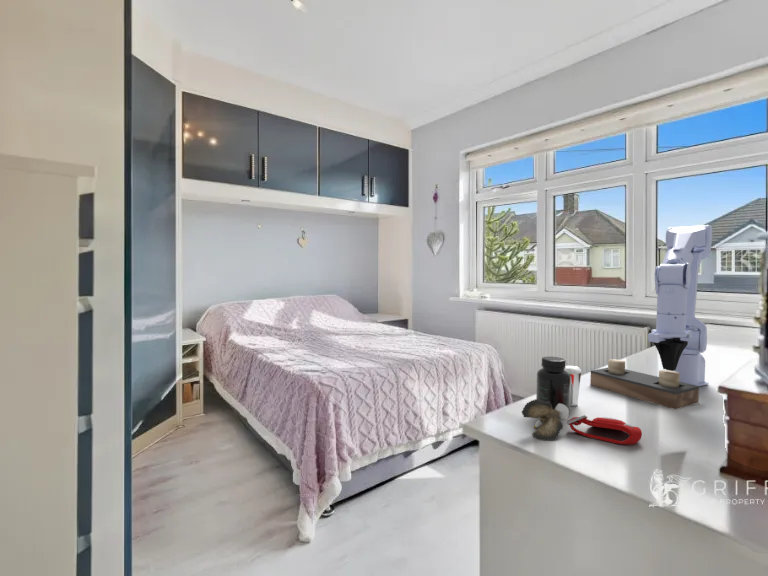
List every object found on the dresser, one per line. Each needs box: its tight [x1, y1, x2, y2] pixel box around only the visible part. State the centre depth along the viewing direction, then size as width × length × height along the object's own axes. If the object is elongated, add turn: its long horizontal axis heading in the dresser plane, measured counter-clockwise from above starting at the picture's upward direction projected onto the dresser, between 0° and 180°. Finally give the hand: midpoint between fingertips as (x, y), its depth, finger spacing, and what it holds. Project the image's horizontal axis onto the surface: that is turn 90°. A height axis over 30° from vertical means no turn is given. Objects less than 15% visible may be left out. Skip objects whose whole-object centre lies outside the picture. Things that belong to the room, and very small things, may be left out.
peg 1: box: [607, 358, 626, 375], centre depth 106 cm, size 4×4×4 cm
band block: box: [589, 367, 700, 410], centre depth 100 cm, size 10×21×4 cm, turn 26°
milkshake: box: [564, 358, 582, 407], centre depth 93 cm, size 5×5×10 cm
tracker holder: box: [566, 414, 643, 446], centre depth 75 cm, size 12×4×10 cm
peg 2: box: [658, 369, 680, 388], centre depth 94 cm, size 4×4×4 cm
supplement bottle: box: [535, 356, 571, 410], centre depth 87 cm, size 7×7×12 cm
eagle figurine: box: [521, 398, 570, 441], centre depth 77 cm, size 8×7×9 cm
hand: (669, 369), depth 94 cm, fingers closed
